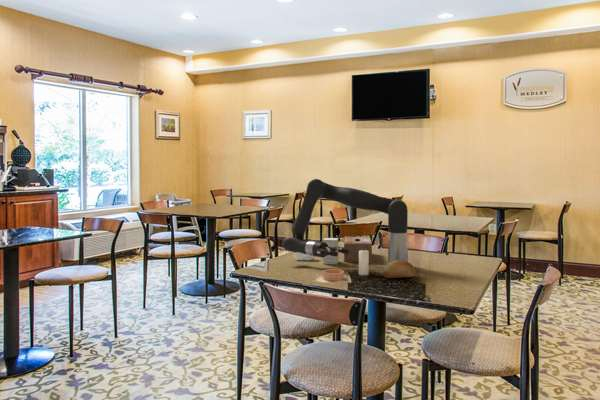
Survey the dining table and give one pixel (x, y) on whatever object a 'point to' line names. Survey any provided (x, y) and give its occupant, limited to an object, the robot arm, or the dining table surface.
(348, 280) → the birch board
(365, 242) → the tissue box cover
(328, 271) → the terracotta dish
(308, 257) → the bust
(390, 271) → the bread roll
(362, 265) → the cream candle
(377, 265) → the dining table surface
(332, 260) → the supplement box
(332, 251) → the robot arm
